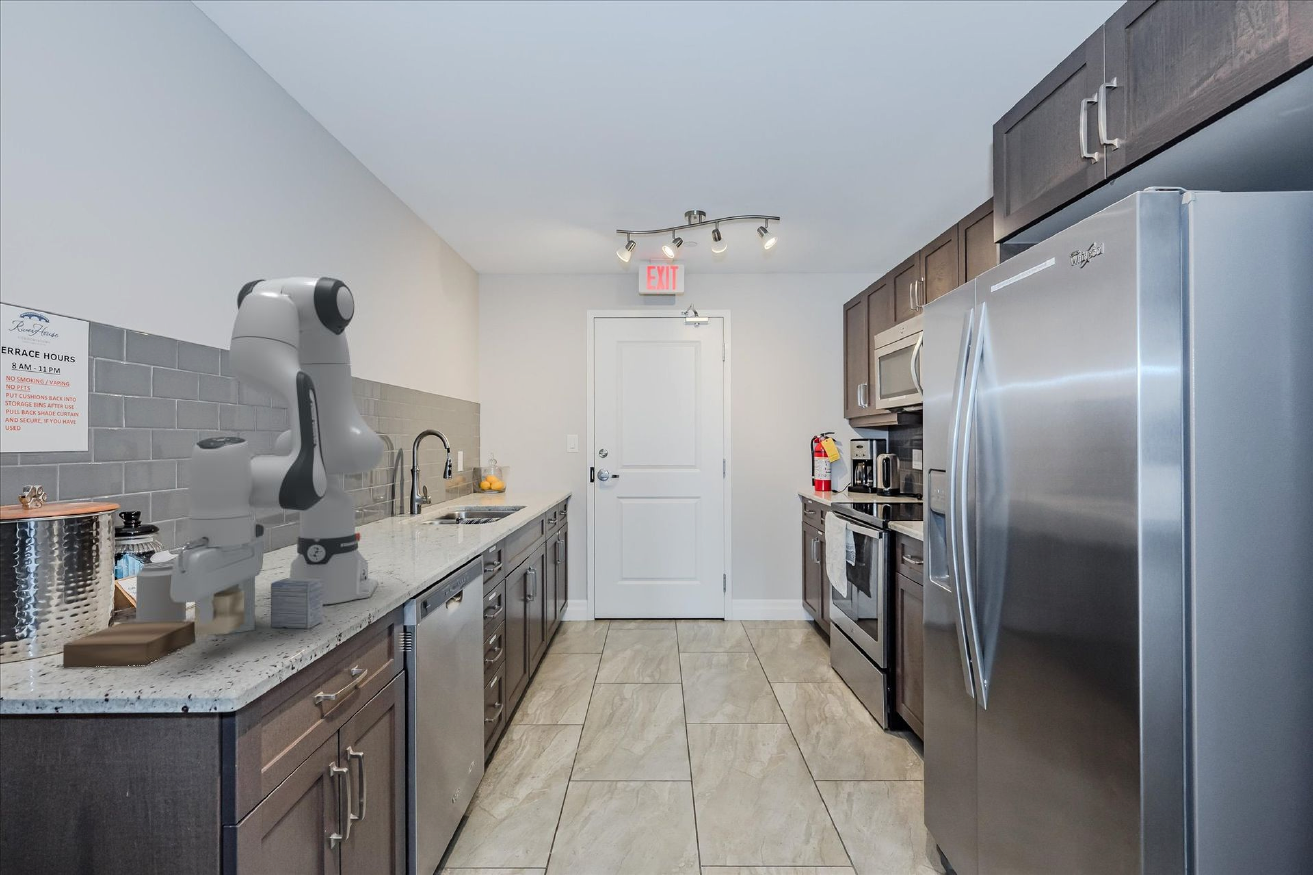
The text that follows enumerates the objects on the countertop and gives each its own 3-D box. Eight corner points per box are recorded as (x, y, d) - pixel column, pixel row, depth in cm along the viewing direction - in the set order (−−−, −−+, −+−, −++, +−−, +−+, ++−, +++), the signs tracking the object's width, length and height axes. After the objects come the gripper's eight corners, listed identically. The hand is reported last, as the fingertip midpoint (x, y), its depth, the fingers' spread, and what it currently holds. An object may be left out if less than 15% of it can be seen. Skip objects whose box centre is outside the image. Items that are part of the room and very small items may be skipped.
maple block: (212, 624, 107) (213, 590, 107) (243, 624, 107) (244, 589, 107) (194, 634, 102) (194, 597, 102) (227, 633, 102) (227, 597, 102)
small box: (212, 625, 119) (213, 557, 119) (251, 620, 123) (252, 554, 123) (213, 636, 112) (214, 564, 112) (255, 630, 116) (256, 560, 116)
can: (162, 632, 114) (164, 567, 114) (124, 631, 114) (125, 566, 115) (195, 621, 121) (196, 560, 122) (159, 619, 122) (160, 559, 122)
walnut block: (121, 645, 108) (122, 622, 108) (195, 644, 109) (195, 621, 109) (63, 670, 96) (63, 645, 96) (146, 668, 97) (146, 643, 97)
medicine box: (323, 622, 121) (324, 578, 121) (308, 629, 117) (309, 583, 117) (285, 621, 122) (286, 577, 122) (269, 628, 118) (270, 582, 118)
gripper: (202, 543, 94) (201, 634, 94) (270, 524, 115) (270, 599, 115) (157, 544, 94) (157, 635, 94) (234, 525, 114) (233, 599, 114)
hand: (219, 615), depth 104 cm, fingers closed on maple block, 5 cm apart
